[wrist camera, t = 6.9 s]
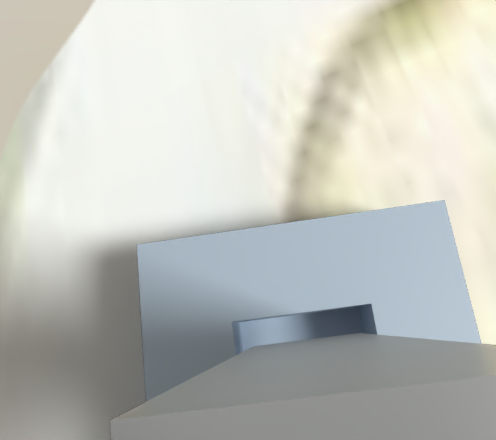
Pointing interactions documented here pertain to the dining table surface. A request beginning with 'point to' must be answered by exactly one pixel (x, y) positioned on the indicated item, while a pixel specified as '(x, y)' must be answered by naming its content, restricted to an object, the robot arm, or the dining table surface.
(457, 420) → the gray block
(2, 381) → the dining table surface
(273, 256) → the socket block
